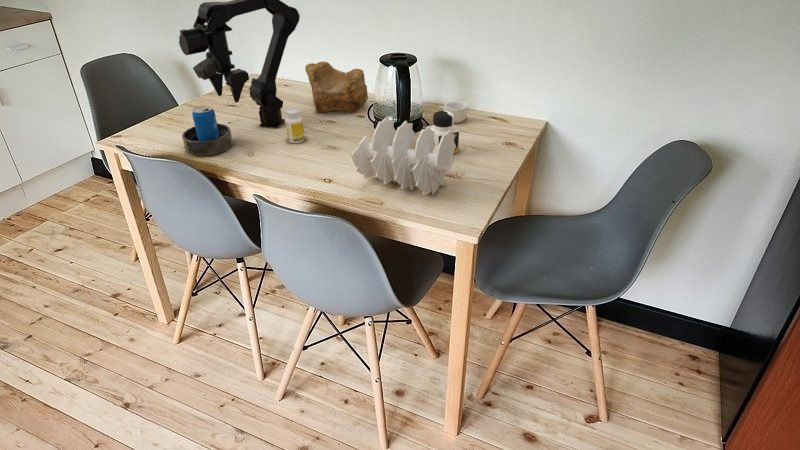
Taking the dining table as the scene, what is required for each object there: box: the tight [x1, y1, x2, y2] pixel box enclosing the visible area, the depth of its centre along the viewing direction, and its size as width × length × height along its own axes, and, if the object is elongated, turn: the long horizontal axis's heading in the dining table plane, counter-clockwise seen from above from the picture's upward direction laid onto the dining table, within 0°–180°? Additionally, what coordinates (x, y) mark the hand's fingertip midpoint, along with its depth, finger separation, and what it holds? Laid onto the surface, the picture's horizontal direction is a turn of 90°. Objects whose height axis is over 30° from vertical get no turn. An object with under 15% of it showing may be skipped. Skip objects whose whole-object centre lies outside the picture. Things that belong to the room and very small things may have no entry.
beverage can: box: [191, 104, 220, 141], centre depth 163 cm, size 6×6×12 cm
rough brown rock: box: [304, 61, 369, 113], centre depth 189 cm, size 23×17×15 cm
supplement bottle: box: [284, 108, 306, 144], centre depth 168 cm, size 5×5×10 cm
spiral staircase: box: [350, 116, 456, 196], centre depth 141 cm, size 18×18×25 cm
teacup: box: [438, 100, 469, 124], centre depth 181 cm, size 10×8×5 cm
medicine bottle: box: [430, 110, 460, 154], centre depth 159 cm, size 7×7×12 cm
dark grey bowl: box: [181, 122, 234, 156], centre depth 166 cm, size 14×14×5 cm
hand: (228, 98), depth 167 cm, fingers open, 9 cm apart
